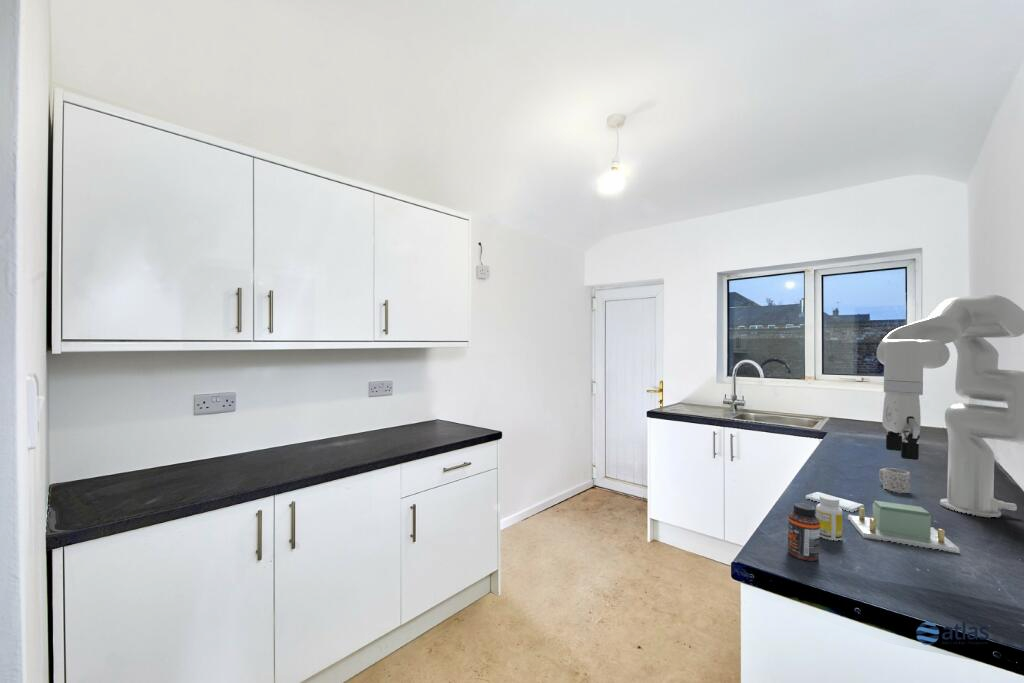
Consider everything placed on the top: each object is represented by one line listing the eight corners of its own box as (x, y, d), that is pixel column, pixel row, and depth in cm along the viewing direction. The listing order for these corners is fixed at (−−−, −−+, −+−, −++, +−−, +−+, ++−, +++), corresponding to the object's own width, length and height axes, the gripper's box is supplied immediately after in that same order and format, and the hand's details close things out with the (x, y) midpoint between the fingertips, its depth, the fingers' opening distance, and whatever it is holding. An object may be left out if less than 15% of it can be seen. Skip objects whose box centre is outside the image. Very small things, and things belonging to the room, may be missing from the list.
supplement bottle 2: (837, 534, 111) (838, 495, 111) (845, 543, 106) (846, 502, 106) (812, 530, 113) (813, 492, 113) (819, 539, 108) (820, 499, 108)
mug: (914, 494, 144) (915, 474, 144) (894, 493, 144) (894, 473, 144) (889, 484, 154) (889, 465, 154) (870, 483, 154) (870, 464, 154)
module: (921, 530, 112) (921, 506, 112) (930, 537, 107) (930, 513, 107) (872, 522, 116) (872, 500, 116) (879, 529, 111) (879, 506, 111)
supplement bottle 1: (781, 549, 102) (782, 500, 102) (805, 549, 102) (806, 500, 102) (800, 562, 96) (801, 510, 96) (825, 562, 96) (827, 510, 96)
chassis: (932, 531, 114) (933, 515, 114) (959, 553, 102) (959, 535, 102) (848, 518, 121) (848, 503, 121) (863, 537, 109) (864, 520, 109)
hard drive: (805, 495, 137) (852, 508, 126) (817, 491, 141) (864, 503, 130) (805, 500, 137) (852, 514, 126) (817, 496, 141) (864, 509, 130)
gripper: (872, 384, 122) (871, 445, 122) (897, 390, 106) (896, 460, 106) (907, 385, 119) (905, 448, 119) (938, 392, 103) (936, 464, 103)
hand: (901, 454), depth 112 cm, fingers open, 9 cm apart
